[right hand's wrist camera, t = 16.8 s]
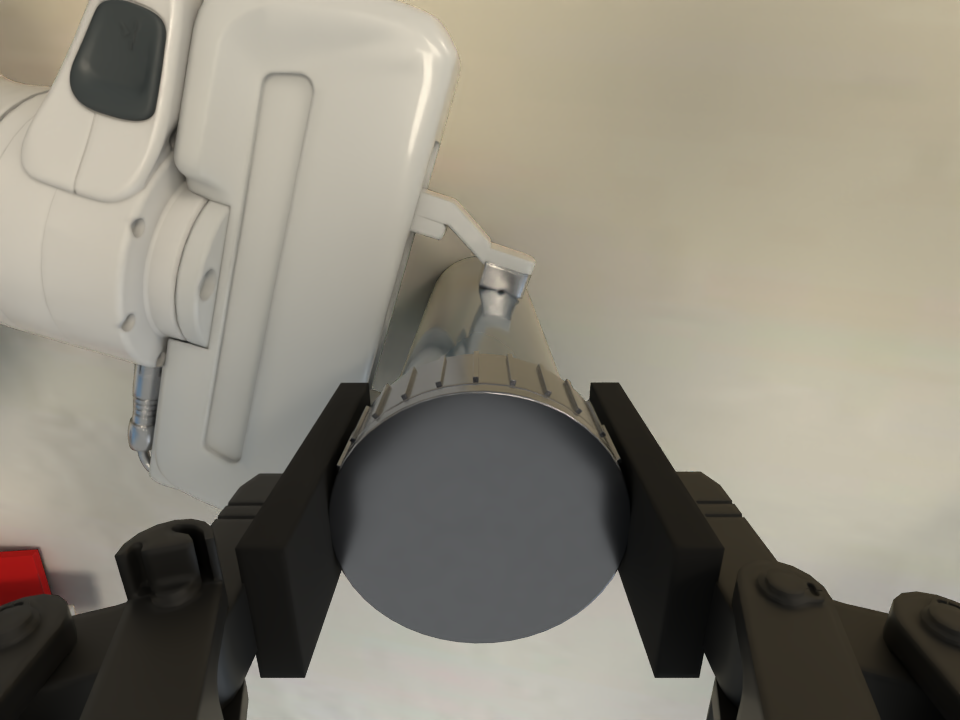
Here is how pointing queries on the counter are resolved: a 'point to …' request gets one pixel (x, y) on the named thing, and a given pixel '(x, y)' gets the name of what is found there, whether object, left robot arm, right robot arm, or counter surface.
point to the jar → (477, 322)
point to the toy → (22, 576)
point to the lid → (479, 501)
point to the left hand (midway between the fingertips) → (501, 352)
